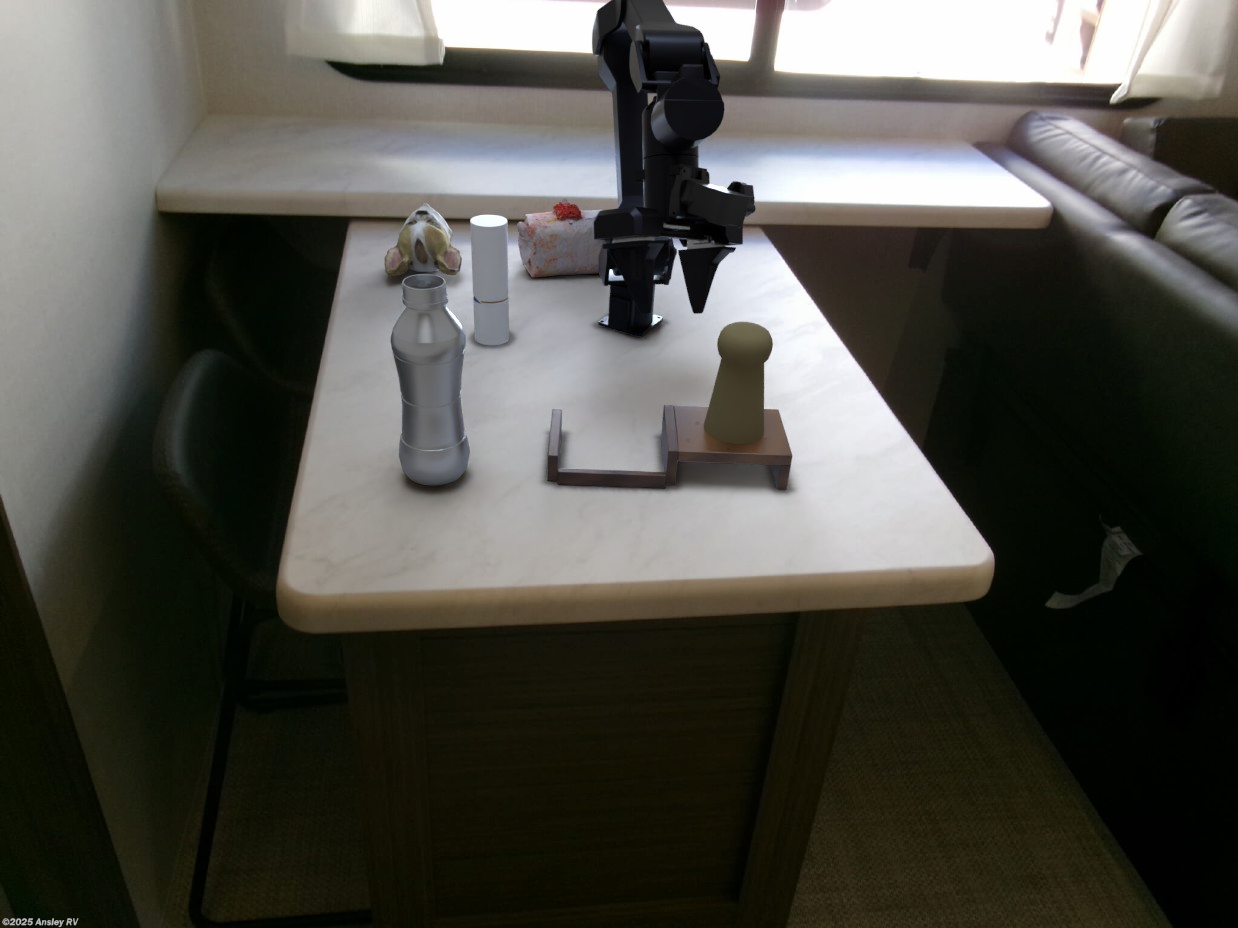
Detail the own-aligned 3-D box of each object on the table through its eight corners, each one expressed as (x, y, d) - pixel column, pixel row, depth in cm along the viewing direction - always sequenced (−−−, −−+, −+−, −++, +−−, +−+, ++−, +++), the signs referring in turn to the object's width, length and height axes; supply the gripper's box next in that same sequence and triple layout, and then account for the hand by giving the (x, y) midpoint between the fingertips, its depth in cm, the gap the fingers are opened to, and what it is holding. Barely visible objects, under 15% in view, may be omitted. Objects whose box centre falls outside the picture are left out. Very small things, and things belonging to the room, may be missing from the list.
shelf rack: (547, 484, 92) (547, 449, 90) (552, 433, 100) (552, 400, 98) (787, 492, 93) (793, 458, 91) (773, 441, 101) (778, 409, 99)
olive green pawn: (772, 442, 93) (788, 340, 87) (712, 446, 92) (725, 342, 86) (753, 411, 98) (767, 313, 92) (696, 414, 97) (707, 315, 91)
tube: (515, 335, 120) (514, 219, 111) (498, 348, 116) (495, 229, 108) (486, 328, 121) (482, 212, 113) (468, 340, 118) (463, 222, 110)
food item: (525, 282, 134) (524, 214, 129) (516, 261, 141) (515, 196, 135) (618, 277, 137) (621, 210, 132) (605, 257, 144) (608, 193, 139)
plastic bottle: (404, 457, 95) (387, 267, 84) (472, 457, 95) (465, 268, 84) (397, 494, 89) (378, 296, 78) (469, 494, 90) (461, 297, 79)
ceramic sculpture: (461, 192, 139) (458, 233, 127) (464, 248, 144) (462, 292, 132) (387, 192, 137) (377, 233, 125) (393, 248, 142) (384, 293, 130)
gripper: (680, 136, 85) (682, 312, 87) (786, 160, 99) (785, 311, 101) (587, 152, 92) (591, 315, 94) (698, 172, 106) (699, 313, 109)
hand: (672, 313), depth 99 cm, fingers open, 9 cm apart
